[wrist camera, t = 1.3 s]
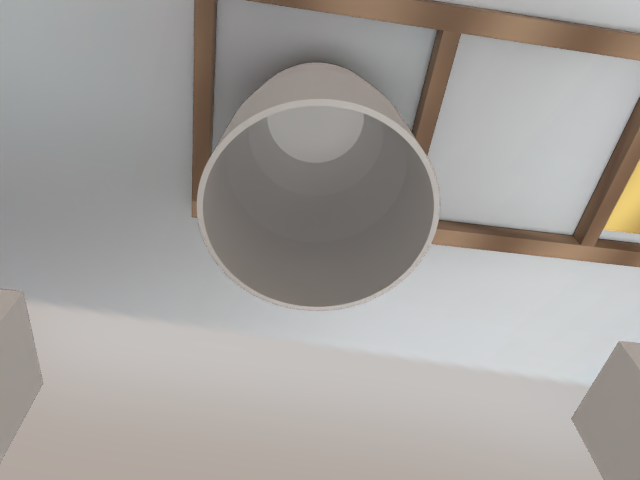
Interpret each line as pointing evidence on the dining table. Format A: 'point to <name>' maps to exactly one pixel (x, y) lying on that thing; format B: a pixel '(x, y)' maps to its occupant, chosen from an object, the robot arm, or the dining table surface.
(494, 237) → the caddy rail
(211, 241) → the cup
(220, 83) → the dining table surface
